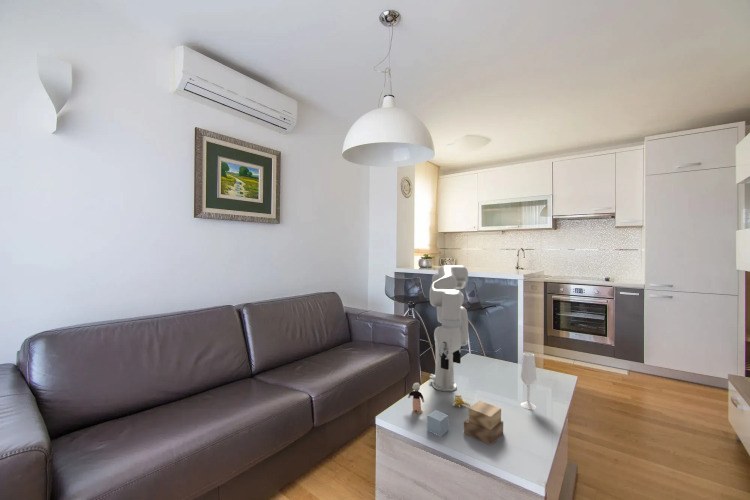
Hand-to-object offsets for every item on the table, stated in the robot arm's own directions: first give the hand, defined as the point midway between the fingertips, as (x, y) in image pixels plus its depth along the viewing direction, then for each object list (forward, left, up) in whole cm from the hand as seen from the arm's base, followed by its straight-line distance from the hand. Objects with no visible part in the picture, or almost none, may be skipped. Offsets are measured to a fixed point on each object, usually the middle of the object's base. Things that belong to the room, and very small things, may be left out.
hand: (450, 365), depth 128 cm
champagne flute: (+16, +43, -26) cm, 52 cm away
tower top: (+11, +7, -21) cm, 25 cm away
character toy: (-7, +19, -26) cm, 33 cm away
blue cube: (-3, -4, -26) cm, 26 cm away
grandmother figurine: (-18, +2, -26) cm, 31 cm away
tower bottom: (+11, +7, -26) cm, 29 cm away
